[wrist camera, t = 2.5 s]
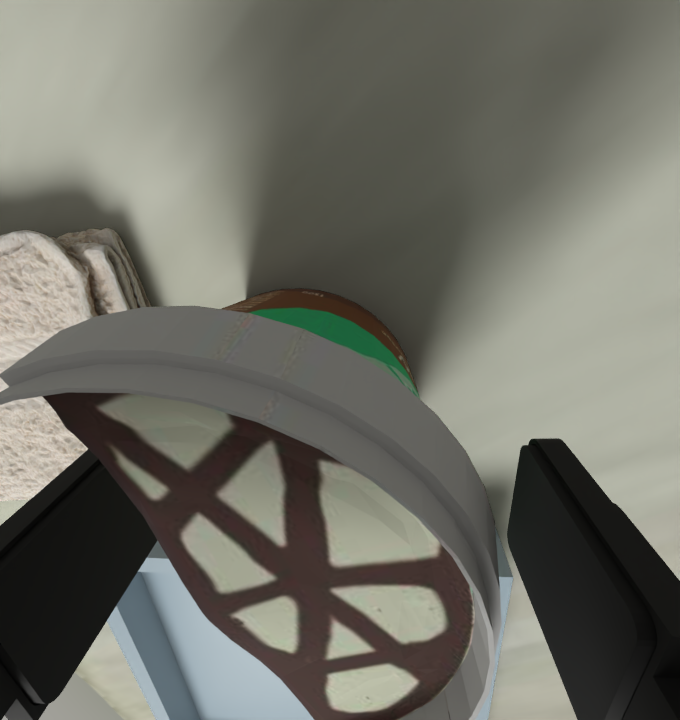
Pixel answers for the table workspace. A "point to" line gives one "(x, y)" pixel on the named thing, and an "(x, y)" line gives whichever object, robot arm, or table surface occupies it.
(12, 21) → the table surface
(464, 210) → the table surface
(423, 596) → the food container
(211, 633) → the tray
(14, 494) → the washcloth
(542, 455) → the robot arm
